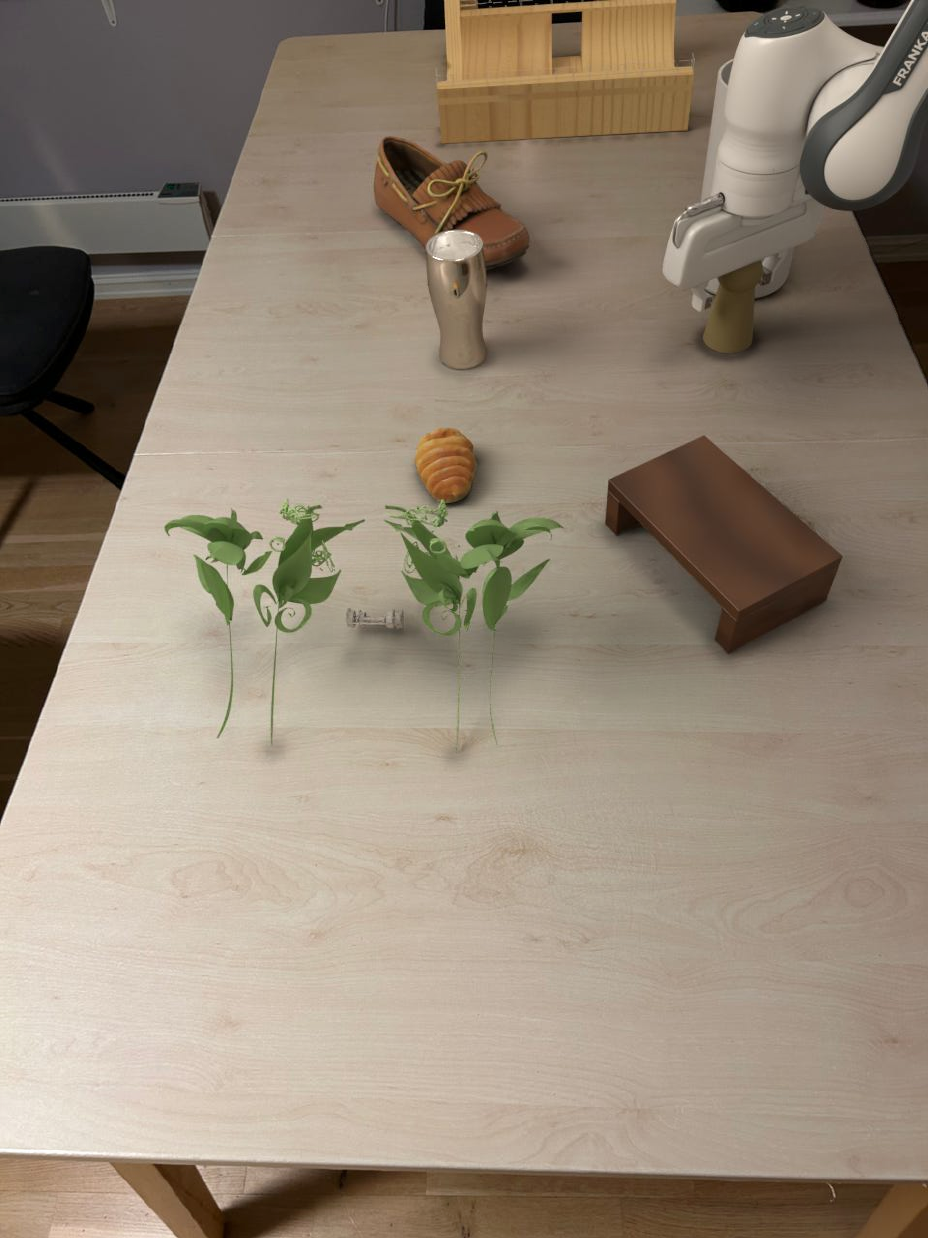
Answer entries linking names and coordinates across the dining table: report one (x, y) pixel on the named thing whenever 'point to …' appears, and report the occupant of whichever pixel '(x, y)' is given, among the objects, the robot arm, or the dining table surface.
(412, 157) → the moccasin
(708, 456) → the shelf
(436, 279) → the beer glass
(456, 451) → the pastry
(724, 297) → the olive yellow pawn
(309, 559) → the plant cuttings
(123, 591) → the dining table surface
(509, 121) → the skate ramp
